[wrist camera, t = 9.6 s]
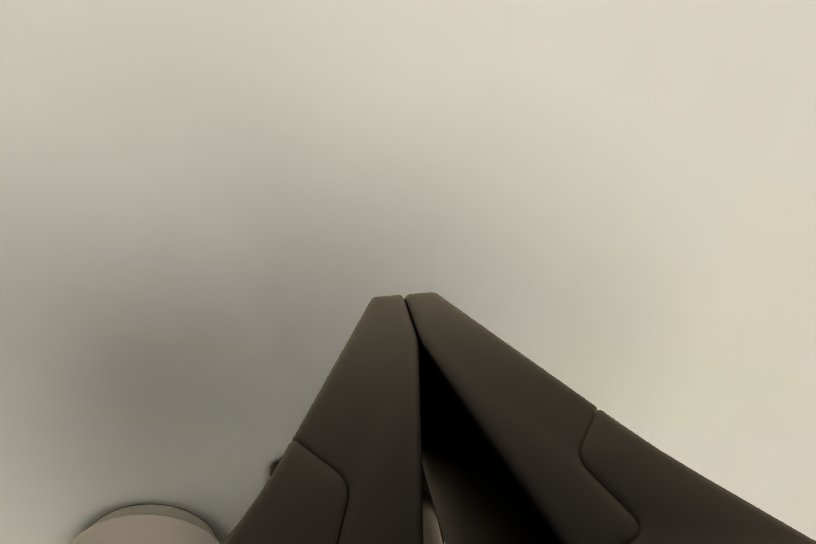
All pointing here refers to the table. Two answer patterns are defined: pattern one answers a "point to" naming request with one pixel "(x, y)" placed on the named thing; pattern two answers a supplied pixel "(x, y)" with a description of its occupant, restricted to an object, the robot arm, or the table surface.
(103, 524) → the energy drink can
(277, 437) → the table surface
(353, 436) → the robot arm
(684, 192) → the table surface
